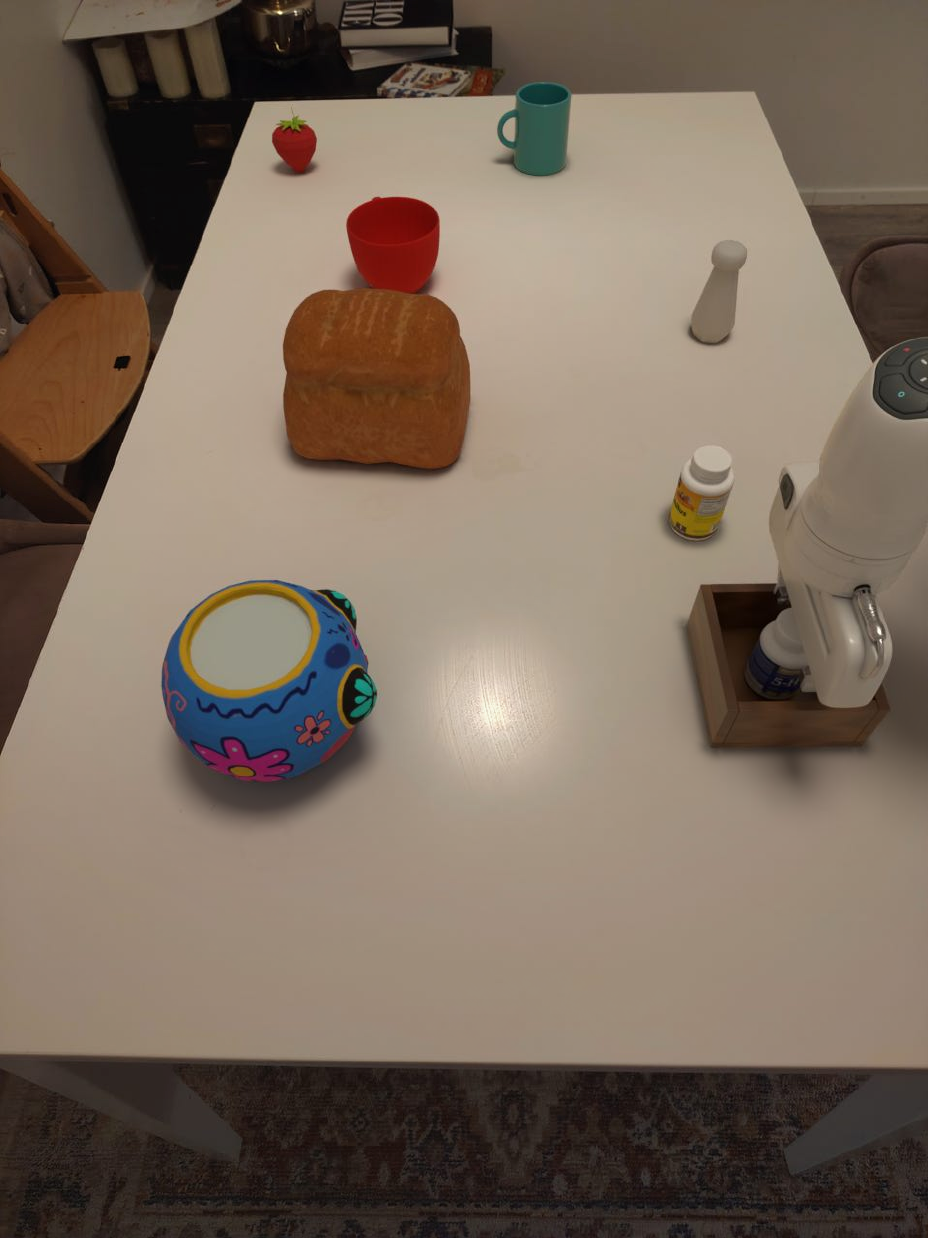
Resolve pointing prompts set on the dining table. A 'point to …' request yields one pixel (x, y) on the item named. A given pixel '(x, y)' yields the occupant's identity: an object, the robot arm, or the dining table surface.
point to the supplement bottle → (702, 493)
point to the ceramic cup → (394, 242)
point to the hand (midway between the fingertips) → (795, 640)
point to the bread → (376, 378)
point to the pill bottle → (777, 659)
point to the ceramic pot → (267, 679)
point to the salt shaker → (719, 293)
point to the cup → (539, 128)
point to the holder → (730, 706)
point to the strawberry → (295, 143)
